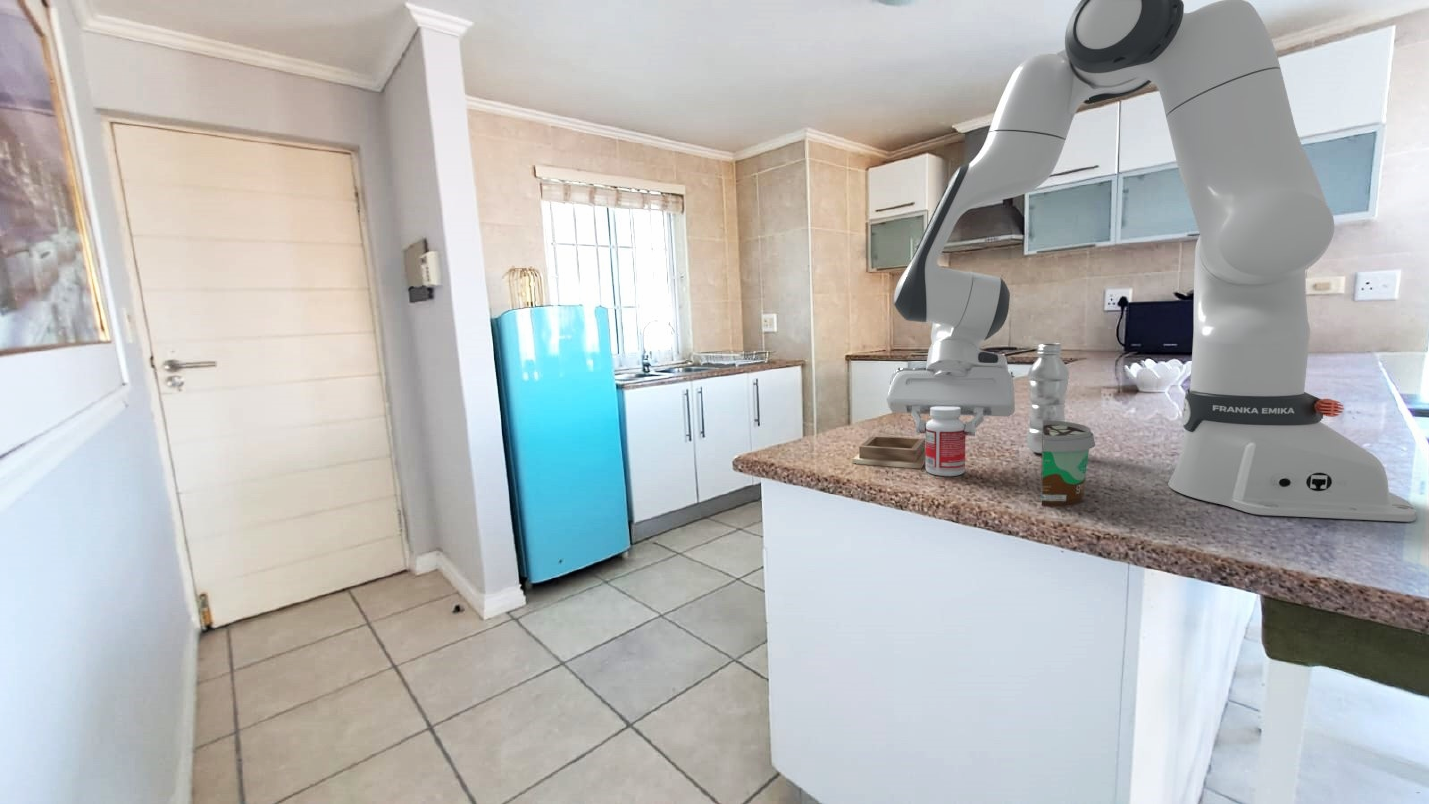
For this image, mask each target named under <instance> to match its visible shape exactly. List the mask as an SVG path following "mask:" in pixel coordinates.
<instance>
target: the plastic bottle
mask: <svg viewBox="0 0 1429 804" xmlns="http://www.w3.org/2000/svg"><path fill="white" fill-rule="evenodd" d="M1062 353H1063V352H1062V344H1061V343H1039V344H1037V352H1036V355H1037V356H1038V357H1037V359H1036V360H1035V361H1034V362H1033V364H1031V366H1030V368H1029V370H1028V372H1027V375H1028V377H1027V378H1028V384H1029V385H1028V386H1029V394H1030V403H1031V404H1030V413H1029V414H1030V416H1029V421H1028V422H1029V423H1028V424H1029V425H1028V427H1027V432H1026V437H1025V439H1026V444H1027V448H1028V449H1029V450H1030V451H1031V452H1033V453H1036V454H1041V455H1042V429H1043V420H1051V421H1063V422H1066V418H1065V417H1066V416H1065V406H1066V405H1065V404H1066V395H1067V390H1068V385H1069V379H1070V372H1069V368H1068V367H1067V365H1066V364H1065V362H1064V361H1063V360H1062V358H1061V356H1060V355H1062Z"/></svg>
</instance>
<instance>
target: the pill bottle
mask: <svg viewBox="0 0 1429 804" xmlns="http://www.w3.org/2000/svg"><path fill="white" fill-rule="evenodd" d="M929 416H930V417H931V419H929V420H928V421H926V428H925V429H926V434H925V448H926V462H925V470H926V472H927V473H929V474H932V475H935V476H940V477H956V476H957V477H958V476H960V475H962V474H964V473H965V472H966V435H965V422H964V421H962V420H961V419H960V417H961V416H962V415H961V408H960V407H957V406H934V407H931V408H930V414H929Z"/></svg>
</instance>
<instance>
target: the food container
mask: <svg viewBox="0 0 1429 804" xmlns="http://www.w3.org/2000/svg"><path fill="white" fill-rule="evenodd" d="M1094 437H1095V436H1094V433H1093V432H1092V429H1091V428H1090V427H1088V426H1087V425H1084V424H1080V423H1076V422H1070V421H1069V422H1068V421H1065V422H1063V421H1051V420H1043V429H1042V454H1041V468H1040V469H1041V470H1040V471H1041V473H1040V501H1041V506H1042V507H1043V506H1044V507H1068V506H1069V505H1070V506H1076V505H1079V504H1081V503H1082V502H1083V498H1084V492H1085V491H1084V490H1085V484H1086V483H1085V482H1086V474H1087V468H1088V461H1089V459H1088V458H1089V452H1090V449H1092V448H1095V446H1096V440H1095V438H1094ZM1080 502H1081V503H1080Z"/></svg>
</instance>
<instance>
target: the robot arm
mask: <svg viewBox="0 0 1429 804" xmlns="http://www.w3.org/2000/svg"><path fill="white" fill-rule="evenodd" d="M1184 8H1185V3H1184V2H1183V0H1080V2H1079V3H1078V4H1077V6H1076V7H1075V8H1074V9H1073V12H1072V13H1071V15H1070V18H1069V20H1068V22H1067V25H1066V28H1065V36H1064V47H1065V48H1064V49H1063V50H1061V51H1058V52H1056V53H1044V54H1038V55H1035V56H1032V57H1029V58H1027V59H1025V60H1024V61H1023V62H1022V63H1020V64H1019V65H1018V66H1017V67H1016V68H1015V69H1014V71H1013V73H1012V74H1011V76H1010V78H1009V80H1008V82H1007V83H1006V86H1005V88H1004V91H1003V93H1002V95H1001V97H1000V99H999V102H998V104H997V107H996V110H995V112H994V115H993V118H992V121H991V123H990V127H989V130H988V133H987V136H986V139H985V141H984V144H983V145H982V148H981V149H980V150H979V152H978V154H977V155H976V156H975V157H974V158H973V160H971V161H970V162H969V163H967V164H964V165H961V166H959V167H958V168H957V170H956V171H955V172H954V173H953V174H952V176H951V178H950V179H949V181H948V182H947V184H946V186H945V189H944V191H943V193H942V195H941V197H940V198H939V201H938V202H937V205H936V206H935V209H934V211H933V213H932V214H931V216H930V220H929V222H928V224H927V226H926V227H925V231H924V233H923V235H922V237H921V239H920V240H919V242H918V246H917V247H916V250H915V252H914V253H913V257H912V258H911V261H910V262H909V264H908V266H907V267H906V269H905V270H904V271H903V273H902V275H901V276H900V278H899V280H898V282H897V285H896V287H895V289H894V295H893V306H894V307H895V309H896V311H897V312H898V313H899V315H900V316H901V317H902V318H903V319H904V320H906V321H909V322H915V323H931V324H932V327H931V331H930V341H931V345H930V346H929V348H928V352H927V358H926V363H925V364H926V365H925V366H926V367H912V368H909V367H901V368H900V369H898V370H895V371H894V372H892V373H891V376H890V379H889V383H890V386H889V388H888V393H887V397H886V403H887V406H888V408H889V410H890V411H891V412H892V413H893V414H903V415H904V414H907V415H909V414H910V415H911V416H912V419H913V420H914V422H915V432H916V434H925V435H926V429H925V428H926V423H927V420H926V419H921V418H922V415H930V408H931V407H934V406H957V407H960V408H961V415H960V416H970V417H971V416H973V417H972V420H971V421H964V424H965V437H967V436H969V437H976V428H978V427H979V426H980V425H981V424H982V423H983V422H984V419H985V417H1001V418H1002V417H1007V418H1009V417H1011V416H1012V415H1013V414H1014V413H1015V411H1016V409H1015V408H1016V403H1015V402H1016V401H1015V400H1016V399H1015V397H1016V396H1015V387H1014V382H1013V381H1014V380H1013V377H1012V375H1011V372H1010V371H1009V366H1008V361H1007V357H1006V355H1004V354H1000V353H996V352H990V351H986V350H983V349H980V347H981V346H980V345H981V343H982V342H983V341H986V340H988V339H990V338H991V337H993V336H994V335H995V334H996V333H998V332H999V331H1000V330H1001V329H1002V327H1003V326H1004V324H1005V322H1006V320H1007V318H1008V314H1009V309H1010V302H1011V300H1010V299H1011V298H1010V297H1011V292H1010V290H1009V287H1008V286H1007V283H1006V282H1005V280H1004V279H1002V277H998V276H995V275H990V274H985V273H979V272H975V271H967V270H966V271H965V270H959V269H955V268H954V269H953V268H947V267H943V266H941V265H939V263H938V261H939V258H940V257H941V254H942V253H943V250H944V248H945V247H946V244H947V243H948V241H949V238H950V236H951V233H952V232H953V230H954V229H955V225H956V224H957V222H958V220H959V219H960V217H961V216H963V215H964V214H965V212H967V211H969V210H971V209H972V208H975V207H977V206H980V205H984V204H988V203H992V202H997V201H998V202H999V201H1002V200H1009V199H1012V198H1016V197H1019V196H1022V195H1025V194H1027V193H1030V192H1032V191H1033V190H1035V189H1037V188H1038V187H1040V186H1041V185H1043V183H1045V182H1046V181H1047V180H1048V179H1049V178H1050V177H1051V175H1052V174H1053V172H1054V169H1055V168H1056V166H1057V165H1058V162H1059V159H1060V157H1061V154H1062V152H1063V149H1064V146H1065V143H1066V141H1067V137H1068V134H1069V130H1070V129H1071V125H1072V123H1073V120H1074V118H1075V115H1076V113H1077V111H1078V110H1079V108H1080V106H1081V105H1082V104H1083V103H1084V104H1085V105H1086V104H1087V105H1091V104H1096V103H1100V102H1104V101H1107V100H1110V99H1117V98H1122V97H1125V96H1130V95H1132V94H1134V93H1136V92H1139V91H1141V90H1143V89H1144V88H1146V87H1147V86H1149V85H1150V84H1152V83H1153V84H1154V85H1155V86H1156V89H1158V92H1159V94H1160V98H1161V101H1162V105H1163V109H1164V115H1165V117H1166V118H1165V119H1166V122H1167V127H1168V131H1169V135H1170V139H1171V144H1172V147H1173V151H1174V155H1175V159H1176V164H1177V168H1178V171H1179V176H1180V178H1181V181H1182V183H1183V186H1184V188H1185V192H1186V194H1187V198H1188V200H1189V203H1190V205H1191V206H1190V207H1191V209H1192V213H1193V215H1194V219H1195V223H1196V226H1197V229H1198V234H1199V236H1198V239H1197V241H1196V244H1195V250H1194V253H1195V254H1194V276H1193V278H1194V279H1193V335H1192V336H1193V337H1192V354H1191V365H1190V368H1191V370H1190V381H1189V382H1190V384H1189V388H1188V389H1186V390H1185V396H1184V398H1183V405H1182V407H1183V408H1182V421H1181V422H1182V425H1183V428H1184V434H1183V439H1182V443H1181V447H1180V452H1179V456H1178V458H1177V462H1176V465H1175V468H1174V471H1173V473H1172V475H1171V478H1169V481H1168V483H1167V485H1168V487H1169V488H1170V489H1172V490H1174V491H1175V492H1178V493H1179V494H1182V495H1183V496H1184V495H1185V496H1188V497H1191V498H1193V499H1197V500H1199V501H1200V500H1201V501H1204V502H1209V503H1213V504H1219V505H1221V506H1226V507H1230V508H1233V509H1235V510H1239V511H1242V512H1245V513H1249V514H1252V515H1260V516H1276V517H1277V516H1278V517H1299V518H1300V517H1301V518H1304V517H1305V518H1317V519H1318V518H1321V519H1340V520H1341V519H1343V520H1363V521H1364V520H1365V521H1381V522H1382V521H1383V522H1385V521H1388V522H1414V521H1415V520H1416V519H1417V508H1416V507H1415V506H1414V505H1413V504H1412V503H1411V502H1410V501H1408V500H1406V499H1404V498H1403V497H1401V496H1398V495H1396V494H1394V493H1392V492H1390V491H1389V490H1390V489H1389V481H1388V475H1387V473H1386V470H1385V467H1384V465H1383V463H1382V462H1381V460H1380V459H1379V458H1378V457H1377V456H1375V455H1374V454H1373V453H1371V452H1370V451H1368V450H1366V449H1364V448H1363V447H1362V446H1360V445H1358V444H1357V443H1355V442H1353V441H1352V440H1351V439H1349V438H1348V437H1346V436H1344V435H1343V434H1341V433H1340V432H1337V430H1335V429H1333V428H1332V427H1329V426H1328V425H1326V424H1325V423H1323V422H1322V419H1324V417H1329V418H1333V417H1335V418H1336V417H1338V416H1340V414H1343V412H1344V410H1345V408H1344V405H1343V404H1341V402H1340V401H1339V400H1338V401H1337V400H1333V399H1331V398H1319V397H1318V396H1316V395H1315V396H1314V395H1312V394H1310V393H1308V392H1306V391H1305V385H1306V377H1307V368H1308V367H1307V366H1308V357H1309V356H1308V355H1309V348H1310V347H1309V346H1310V337H1311V327H1310V324H1309V317H1308V306H1307V291H1306V290H1307V289H1306V271H1307V270H1308V269H1309V268H1310V267H1312V266H1314V265H1315V264H1316V263H1317V262H1318V261H1319V260H1320V259H1321V258H1322V257H1323V255H1325V254H1326V251H1327V250H1328V248H1329V247H1330V245H1331V243H1332V240H1333V237H1334V232H1335V219H1334V215H1333V213H1332V211H1331V210H1330V208H1329V206H1328V203H1327V201H1326V198H1325V195H1324V193H1323V190H1322V187H1321V185H1320V181H1319V179H1318V177H1317V175H1316V173H1315V172H1316V171H1315V170H1314V167H1313V165H1312V163H1311V161H1310V159H1309V157H1308V155H1307V153H1306V150H1305V148H1304V146H1303V144H1302V142H1301V140H1300V137H1299V134H1298V132H1297V128H1296V125H1295V121H1294V117H1293V113H1292V108H1291V106H1290V100H1289V98H1288V93H1287V88H1286V84H1285V81H1284V77H1283V72H1282V67H1281V64H1280V61H1279V58H1278V54H1277V52H1276V48H1275V46H1274V43H1273V41H1272V38H1271V36H1270V34H1269V31H1268V29H1267V27H1266V25H1265V24H1264V21H1263V20H1262V18H1261V16H1260V14H1259V13H1258V11H1257V10H1256V8H1255V7H1254V5H1252V4H1251V3H1250V2H1248V1H1247V0H1219V1H1216V2H1212V3H1210V4H1206V5H1205V6H1202V7H1200V8H1198V9H1196V10H1193V11H1191V12H1184V10H1185V9H1184Z"/></svg>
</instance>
